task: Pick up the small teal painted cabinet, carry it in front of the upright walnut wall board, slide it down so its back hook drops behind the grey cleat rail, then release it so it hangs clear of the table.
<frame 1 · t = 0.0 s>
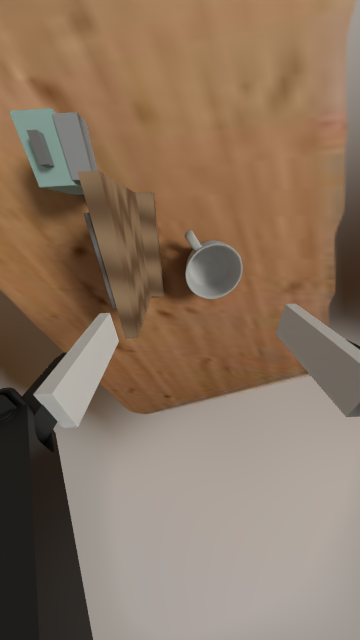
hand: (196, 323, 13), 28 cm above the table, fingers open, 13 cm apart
teacup: (204, 257, 37), on the table
wall board: (137, 251, 36), on the table
cabinet: (80, 169, 29), on the table
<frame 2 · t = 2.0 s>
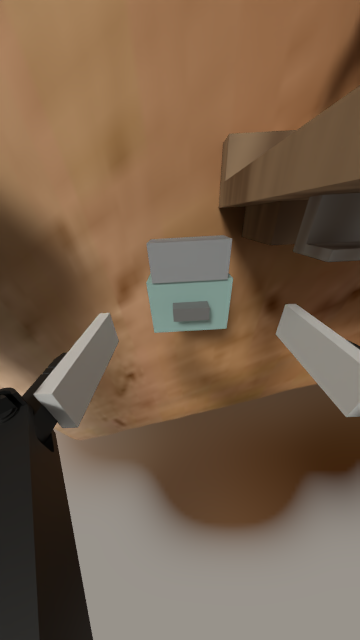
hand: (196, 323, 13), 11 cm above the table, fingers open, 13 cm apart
wall board: (309, 202, 18), on the table
cabinet: (184, 276, 22), on the table
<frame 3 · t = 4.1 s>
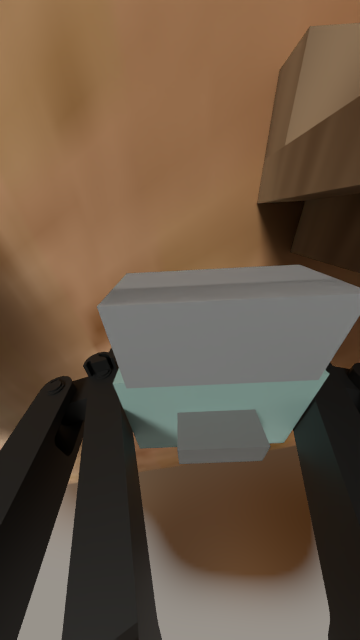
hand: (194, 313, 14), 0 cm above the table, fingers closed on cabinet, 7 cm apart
cabinet: (194, 311, 14), on the table, touching gripper
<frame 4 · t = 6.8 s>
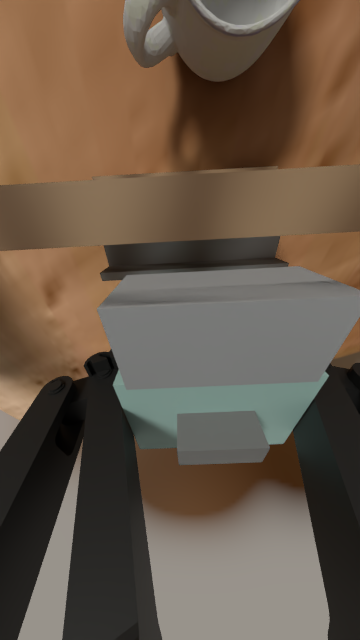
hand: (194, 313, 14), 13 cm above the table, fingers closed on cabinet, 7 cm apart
teacup: (202, 21, 14), on the table
wall board: (185, 224, 22), on the table
cabinet: (194, 311, 14), point 13 cm above the table, touching gripper
when the fingers open (5 cm above the table, at t = 8.9 s): cabinet stays where it is, resting on wall board.
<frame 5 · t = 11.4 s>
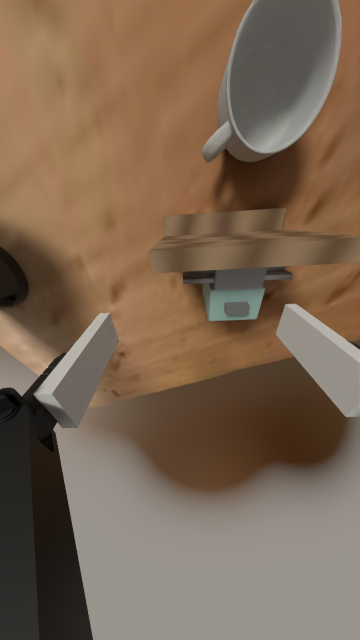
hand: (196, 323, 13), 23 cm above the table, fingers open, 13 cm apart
teacup: (240, 127, 23), on the table
wall board: (219, 244, 31), on the table
cabinet: (222, 279, 30), point 5 cm above the table, touching wall board
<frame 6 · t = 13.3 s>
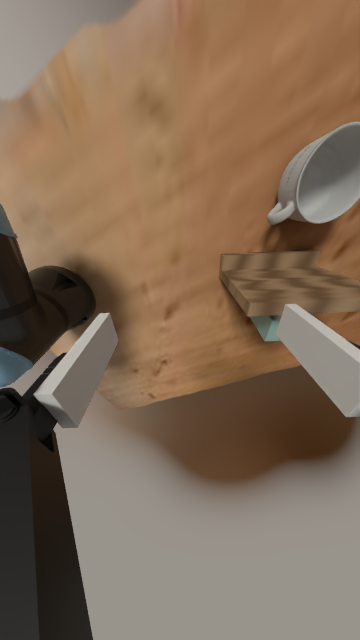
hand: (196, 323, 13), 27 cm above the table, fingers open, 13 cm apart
teacup: (290, 193, 30), on the table
wall board: (262, 274, 38), on the table
cabinet: (265, 304, 37), point 5 cm above the table, touching wall board
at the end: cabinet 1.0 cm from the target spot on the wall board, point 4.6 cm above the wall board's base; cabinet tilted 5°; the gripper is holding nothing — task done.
